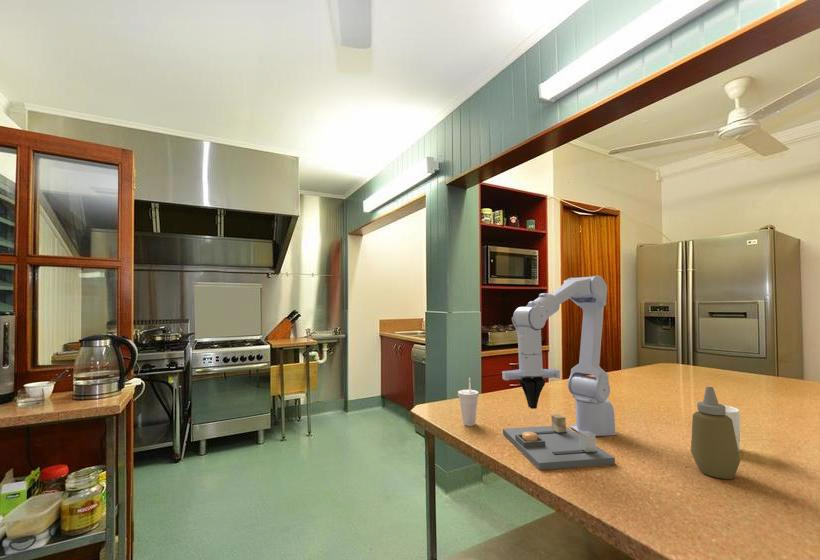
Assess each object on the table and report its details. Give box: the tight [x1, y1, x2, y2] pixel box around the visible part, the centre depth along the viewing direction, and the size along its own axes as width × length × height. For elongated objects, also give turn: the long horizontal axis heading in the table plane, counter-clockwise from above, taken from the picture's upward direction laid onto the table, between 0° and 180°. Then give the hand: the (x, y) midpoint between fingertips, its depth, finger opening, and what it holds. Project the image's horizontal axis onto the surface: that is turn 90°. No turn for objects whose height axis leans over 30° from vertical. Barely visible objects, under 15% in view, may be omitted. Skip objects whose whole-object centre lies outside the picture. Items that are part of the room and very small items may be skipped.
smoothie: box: [457, 377, 480, 427], centre depth 111 cm, size 6×6×14 cm
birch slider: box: [551, 413, 567, 432], centre depth 98 cm, size 2×3×4 cm
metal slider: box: [577, 430, 597, 452], centre depth 85 cm, size 2×3×4 cm
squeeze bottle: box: [690, 386, 741, 480], centre depth 77 cm, size 8×8×18 cm
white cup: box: [723, 404, 741, 452], centre depth 89 cm, size 8×8×10 cm
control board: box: [502, 425, 616, 471], centre depth 91 cm, size 18×22×3 cm
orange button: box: [522, 432, 537, 442], centre depth 91 cm, size 4×4×2 cm
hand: (532, 407), depth 91 cm, fingers closed
